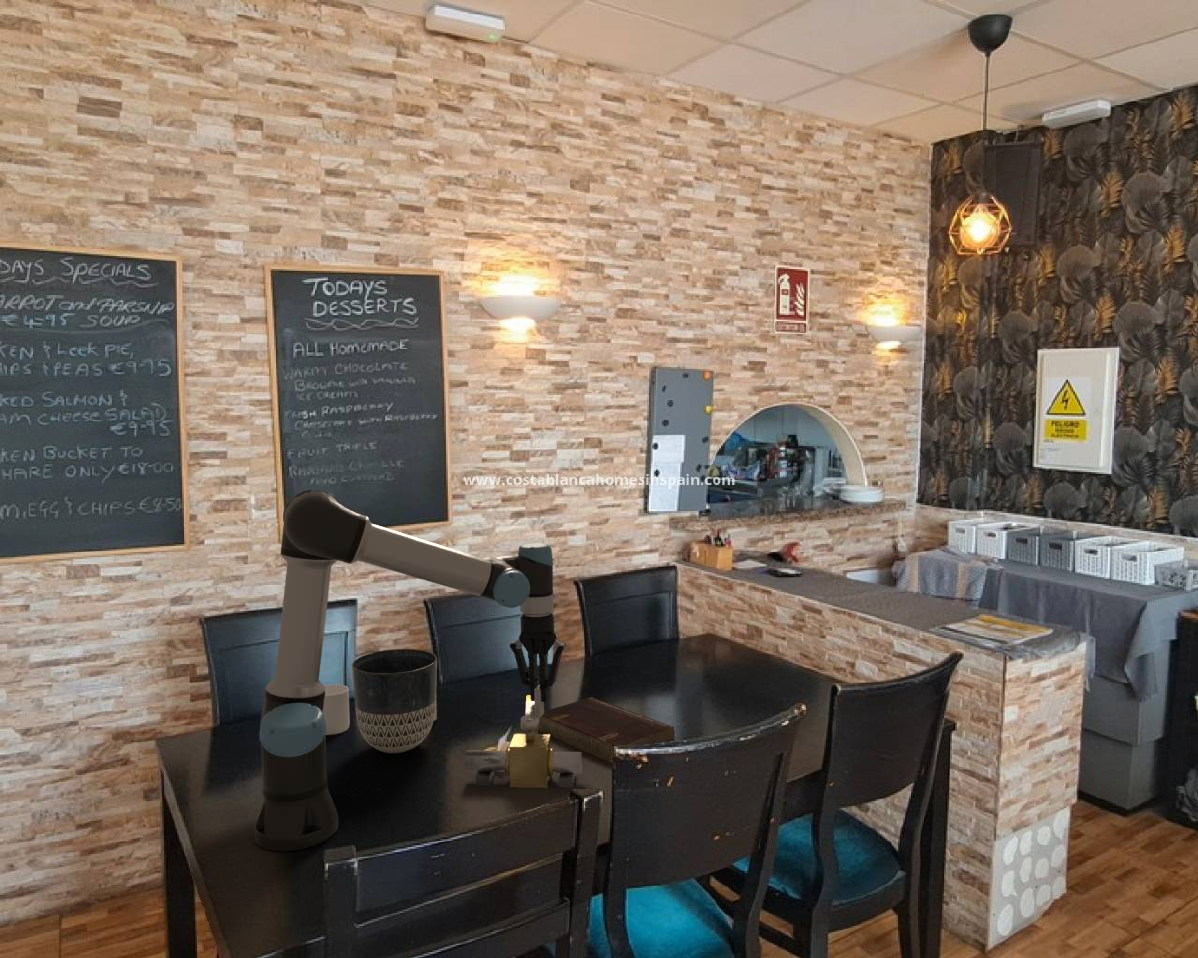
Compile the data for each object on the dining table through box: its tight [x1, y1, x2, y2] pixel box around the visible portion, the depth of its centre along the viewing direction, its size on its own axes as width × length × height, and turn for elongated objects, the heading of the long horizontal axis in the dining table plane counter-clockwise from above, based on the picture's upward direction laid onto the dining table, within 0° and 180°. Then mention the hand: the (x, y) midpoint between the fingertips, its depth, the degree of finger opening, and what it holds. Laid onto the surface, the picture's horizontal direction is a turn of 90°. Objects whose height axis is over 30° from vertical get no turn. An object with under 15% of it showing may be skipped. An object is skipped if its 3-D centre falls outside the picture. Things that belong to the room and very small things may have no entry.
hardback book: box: [537, 696, 676, 764], centre depth 211 cm, size 29×19×5 cm, turn 43°
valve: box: [464, 730, 583, 789], centre depth 187 cm, size 7×25×12 cm, turn 87°
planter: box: [351, 648, 438, 754], centre depth 204 cm, size 20×20×21 cm
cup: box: [323, 684, 350, 736], centre depth 218 cm, size 8×12×10 cm
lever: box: [520, 694, 539, 731], centre depth 193 cm, size 17×4×2 cm, turn 4°
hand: (539, 714), depth 195 cm, fingers closed
